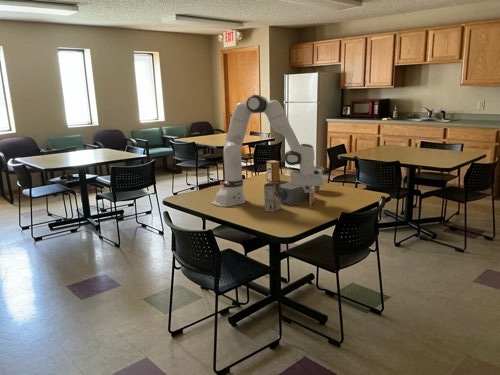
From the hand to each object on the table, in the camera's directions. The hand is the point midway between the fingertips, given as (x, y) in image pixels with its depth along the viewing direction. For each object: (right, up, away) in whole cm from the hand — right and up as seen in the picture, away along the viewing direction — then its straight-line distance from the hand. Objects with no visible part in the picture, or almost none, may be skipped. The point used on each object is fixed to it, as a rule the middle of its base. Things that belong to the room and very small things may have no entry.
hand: (307, 192), depth 251 cm
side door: (+4, -6, +5) cm, 9 cm away
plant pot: (+9, +1, +34) cm, 36 cm away
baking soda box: (-17, +8, +70) cm, 72 cm away
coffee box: (-22, -10, -7) cm, 25 cm away
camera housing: (-7, -5, +12) cm, 15 cm away
